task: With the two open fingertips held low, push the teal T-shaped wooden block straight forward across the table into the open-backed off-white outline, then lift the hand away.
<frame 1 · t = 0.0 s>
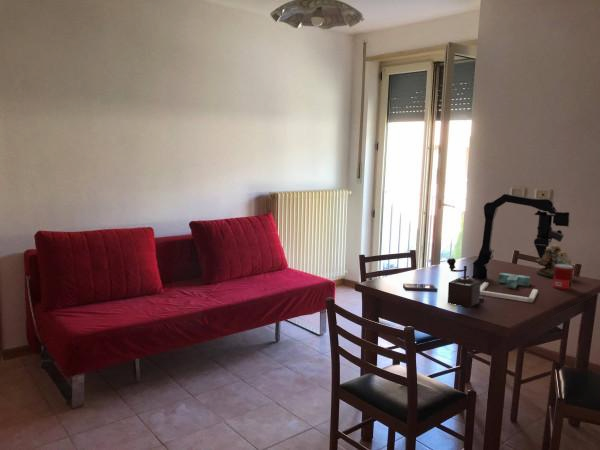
hand: (541, 256, 243), 15 cm above the table, tool pointing down, fingers open, 9 cm apart
target outline: (507, 292, 232), on the table
red tapered cylinder: (561, 288, 242), on the table
manual coffee grinder: (458, 301, 218), on the table
khaki lumpy piece: (552, 276, 264), on the table
T block: (512, 285, 246), on the table
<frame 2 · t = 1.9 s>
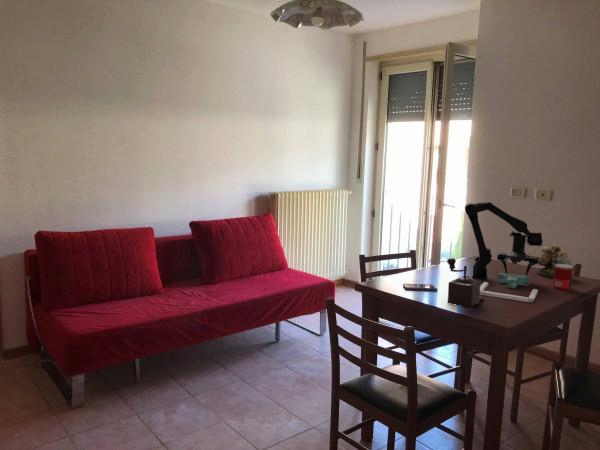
hand: (516, 274, 254), 3 cm above the table, tool pointing down, fingers open, 9 cm apart
nothing on the table moved.
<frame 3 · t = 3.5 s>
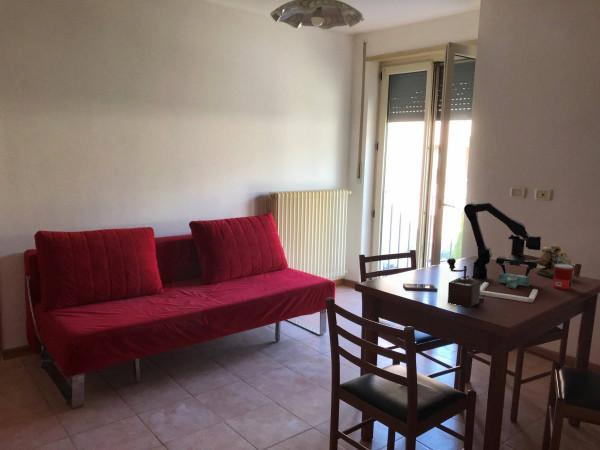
hand: (515, 278, 252), 1 cm above the table, tool pointing down, fingers open, 9 cm apart
T block: (512, 285, 246), on the table, touching gripper
everything else where it was.
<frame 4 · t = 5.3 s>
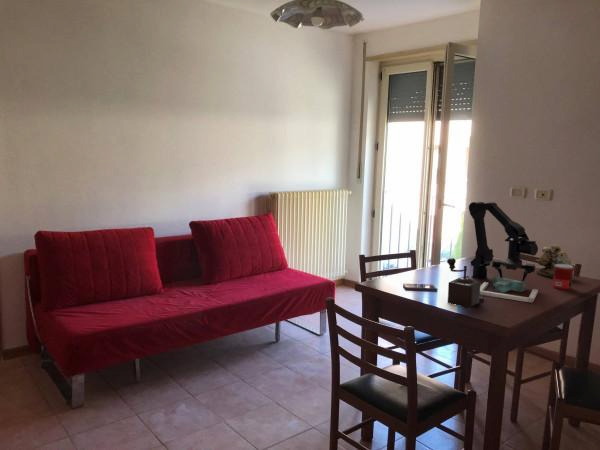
hand: (512, 282, 243), 2 cm above the table, tool pointing down, fingers open, 9 cm apart
T block: (504, 289, 237), on the table, touching gripper
everything else where it was.
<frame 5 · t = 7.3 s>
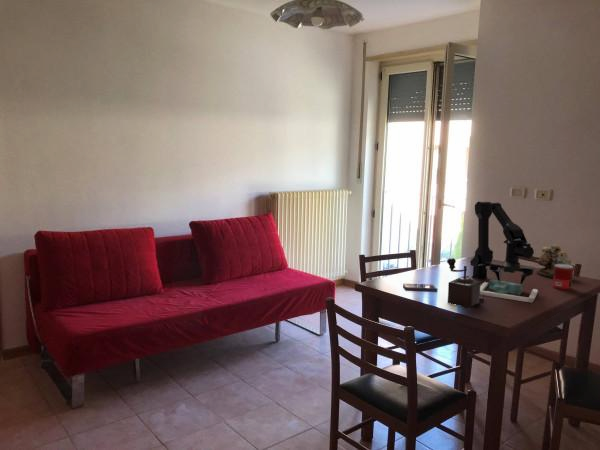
hand: (509, 286, 238), 2 cm above the table, tool pointing down, fingers open, 9 cm apart
T block: (501, 292, 232), on the table, touching gripper
everything else where it was.
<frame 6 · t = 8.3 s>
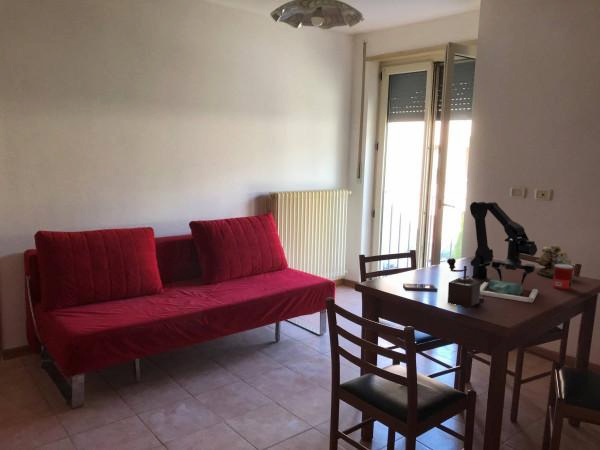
hand: (511, 283, 242), 2 cm above the table, tool pointing down, fingers open, 9 cm apart
T block: (501, 292, 232), on the table
everything else where it was.
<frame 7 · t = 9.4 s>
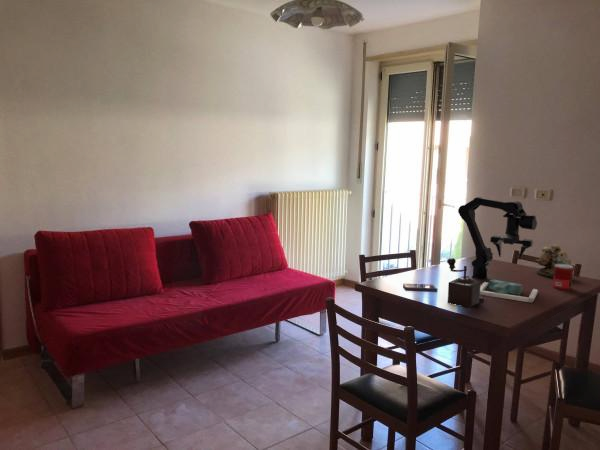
hand: (509, 258, 247), 13 cm above the table, tool pointing down, fingers open, 9 cm apart
nothing on the table moved.
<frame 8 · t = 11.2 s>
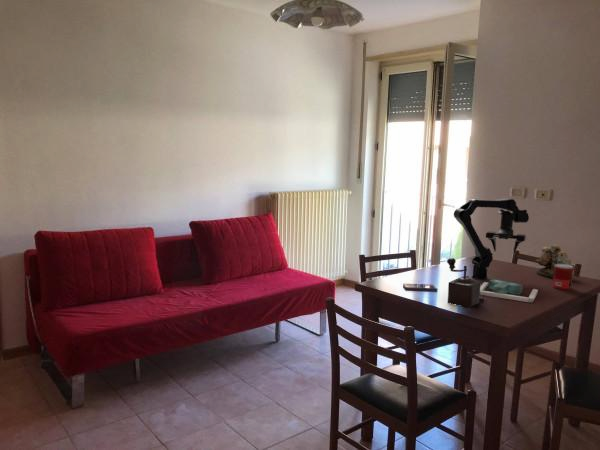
hand: (504, 252, 259), 13 cm above the table, tool pointing down, fingers open, 9 cm apart
nothing on the table moved.
at the end: T block inside the target area on the target outline (2.4 cm from its centre), point 0.0 cm above the target outline's base; T block moved 17.2 cm from its start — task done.
